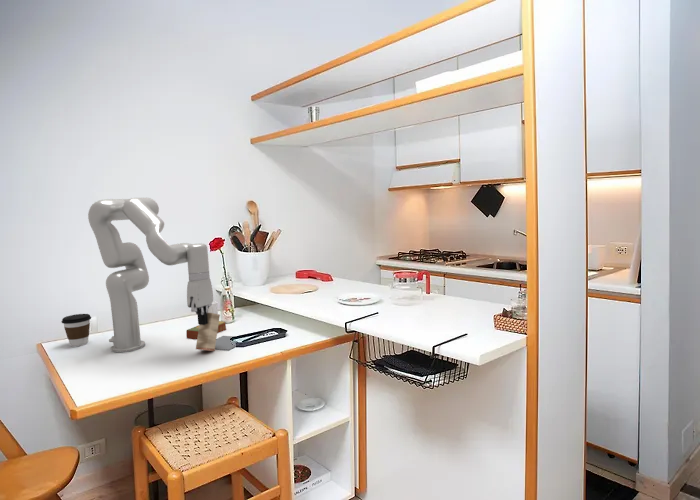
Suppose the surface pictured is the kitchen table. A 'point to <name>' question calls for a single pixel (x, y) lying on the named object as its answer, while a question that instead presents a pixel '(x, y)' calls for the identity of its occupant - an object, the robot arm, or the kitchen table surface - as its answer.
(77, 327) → the coffee cup
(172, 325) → the kitchen table surface
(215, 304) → the white cup
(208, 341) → the wood block
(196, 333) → the carton
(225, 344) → the rubber mat
